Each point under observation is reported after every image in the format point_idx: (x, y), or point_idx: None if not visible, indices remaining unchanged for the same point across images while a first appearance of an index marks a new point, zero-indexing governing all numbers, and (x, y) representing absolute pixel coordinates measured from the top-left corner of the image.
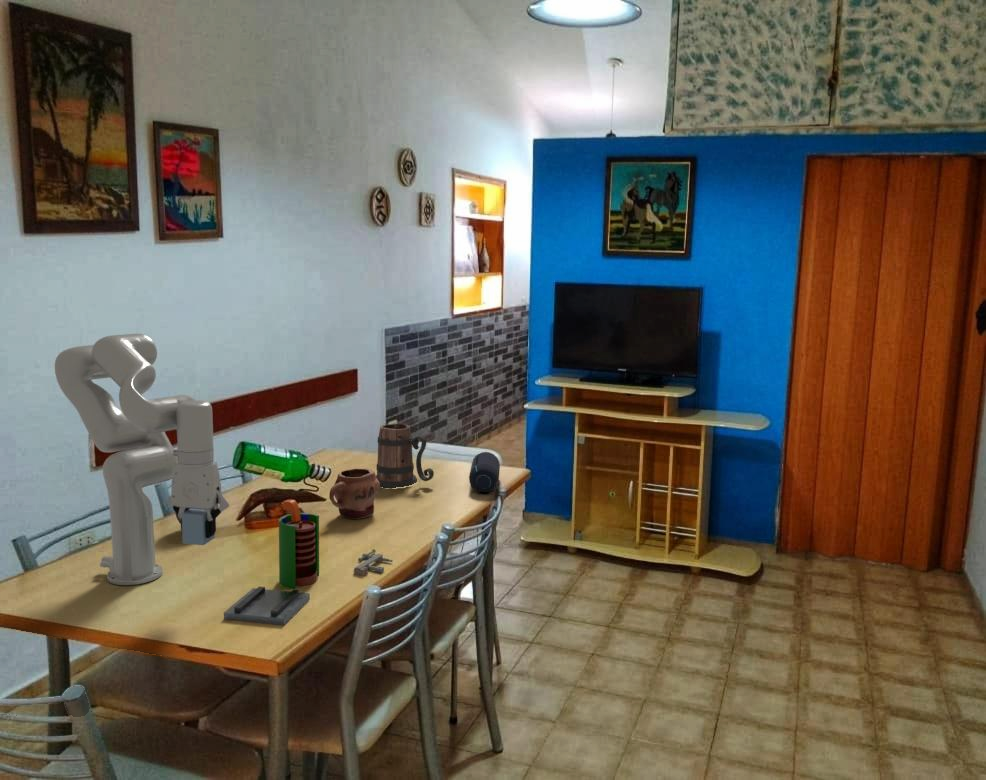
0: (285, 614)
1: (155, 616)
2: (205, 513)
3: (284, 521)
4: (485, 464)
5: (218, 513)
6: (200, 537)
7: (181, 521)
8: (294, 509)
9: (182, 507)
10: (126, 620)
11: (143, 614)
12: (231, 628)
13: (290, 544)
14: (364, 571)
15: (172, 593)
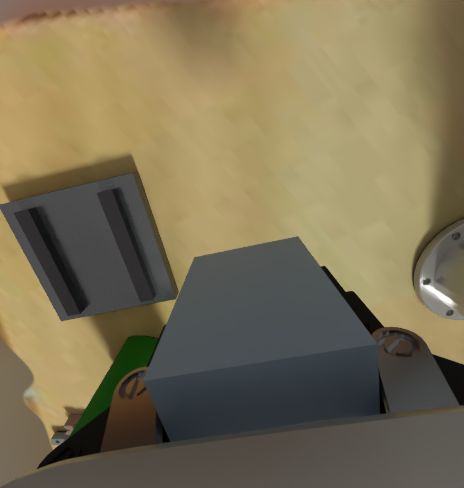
0: (13, 223)
1: (287, 114)
2: (155, 419)
3: None
4: None
5: (52, 452)
6: (202, 270)
7: (373, 323)
8: None
9: (407, 411)
10: (338, 60)
11: (321, 110)
12: (88, 140)
13: (85, 424)
14: (65, 423)
15: (334, 231)
